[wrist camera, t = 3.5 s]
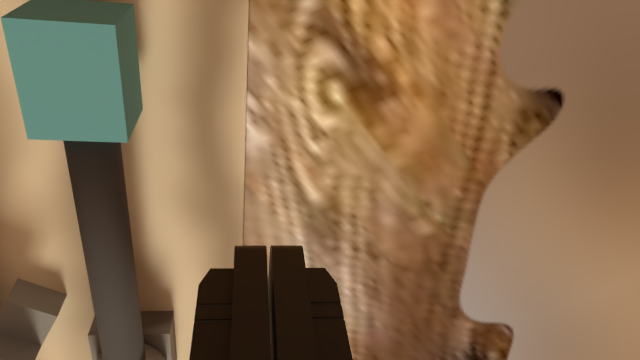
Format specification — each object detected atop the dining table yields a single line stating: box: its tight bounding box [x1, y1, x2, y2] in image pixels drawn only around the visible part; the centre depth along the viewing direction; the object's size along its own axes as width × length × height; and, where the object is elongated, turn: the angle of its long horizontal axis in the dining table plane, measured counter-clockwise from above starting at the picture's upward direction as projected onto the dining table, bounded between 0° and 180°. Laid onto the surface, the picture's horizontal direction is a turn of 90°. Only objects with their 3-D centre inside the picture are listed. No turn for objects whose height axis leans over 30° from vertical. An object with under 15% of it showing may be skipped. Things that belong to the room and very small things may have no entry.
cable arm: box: [1, 0, 165, 360], centre depth 27 cm, size 25×4×4 cm, turn 174°
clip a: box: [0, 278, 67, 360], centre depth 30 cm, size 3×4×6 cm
